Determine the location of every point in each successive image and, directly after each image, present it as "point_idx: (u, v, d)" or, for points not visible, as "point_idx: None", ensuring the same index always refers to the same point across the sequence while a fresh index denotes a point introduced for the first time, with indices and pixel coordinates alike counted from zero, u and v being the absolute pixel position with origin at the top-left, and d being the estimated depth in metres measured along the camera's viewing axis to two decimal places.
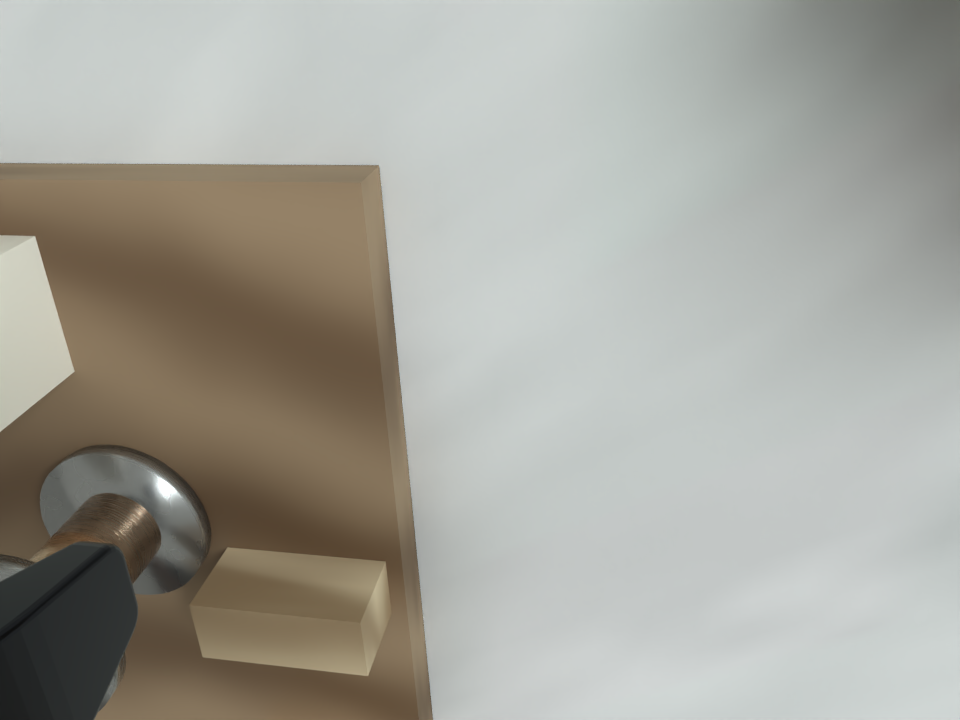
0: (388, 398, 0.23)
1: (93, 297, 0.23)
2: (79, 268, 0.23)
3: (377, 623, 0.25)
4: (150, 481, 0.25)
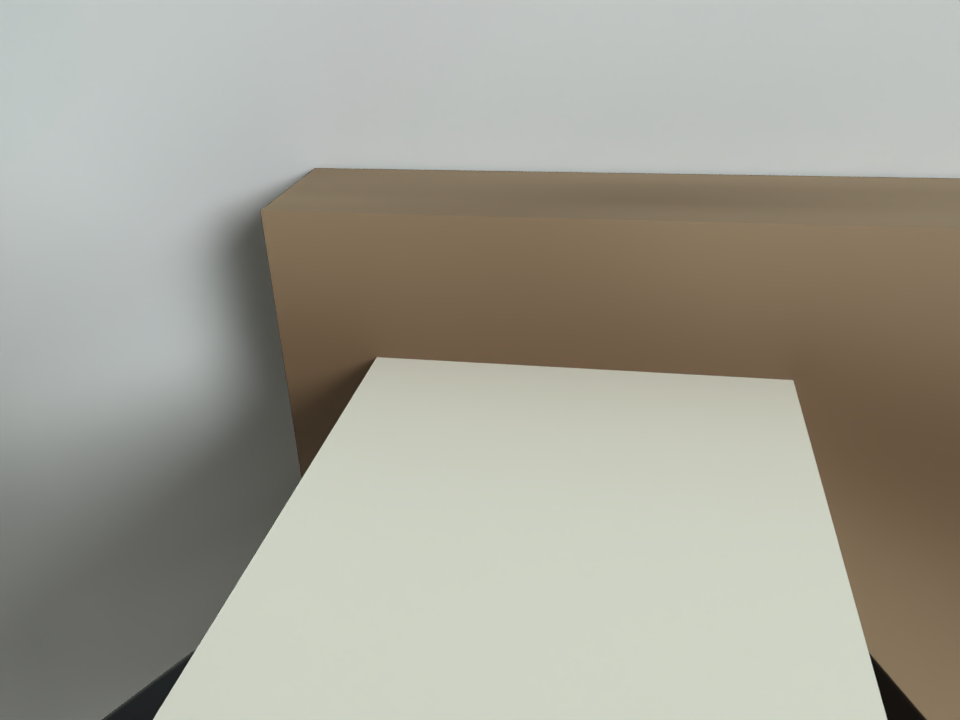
0: None
1: (897, 535, 0.09)
2: (894, 466, 0.08)
3: None
4: None
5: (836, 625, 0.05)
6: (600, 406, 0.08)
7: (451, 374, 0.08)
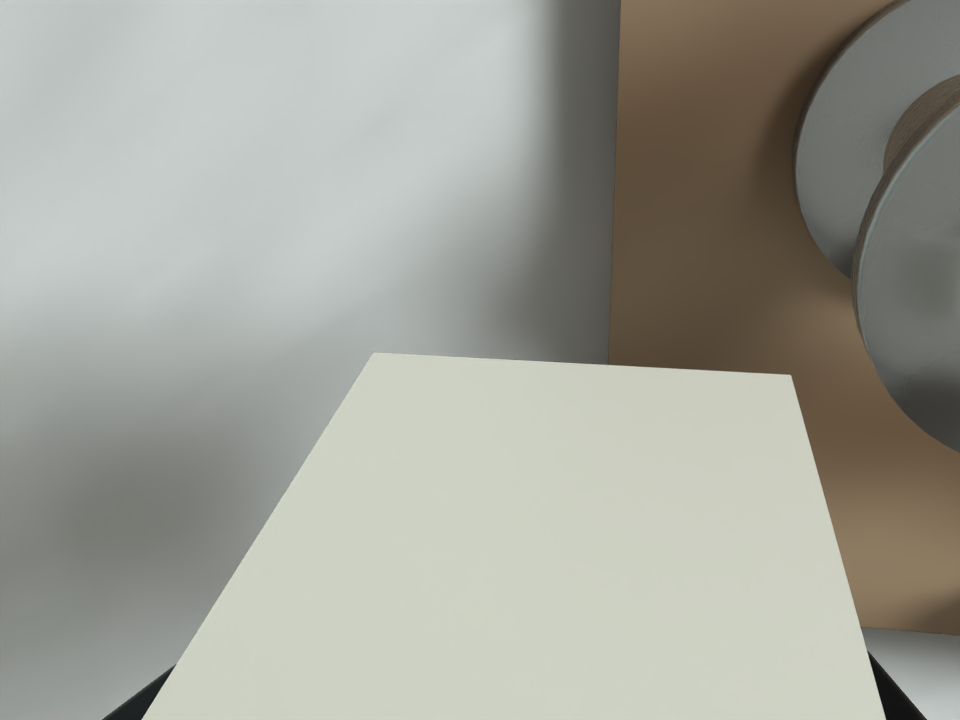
0: None
1: None
2: None
3: None
4: None
5: (832, 618, 0.05)
6: (597, 401, 0.08)
7: (448, 369, 0.08)
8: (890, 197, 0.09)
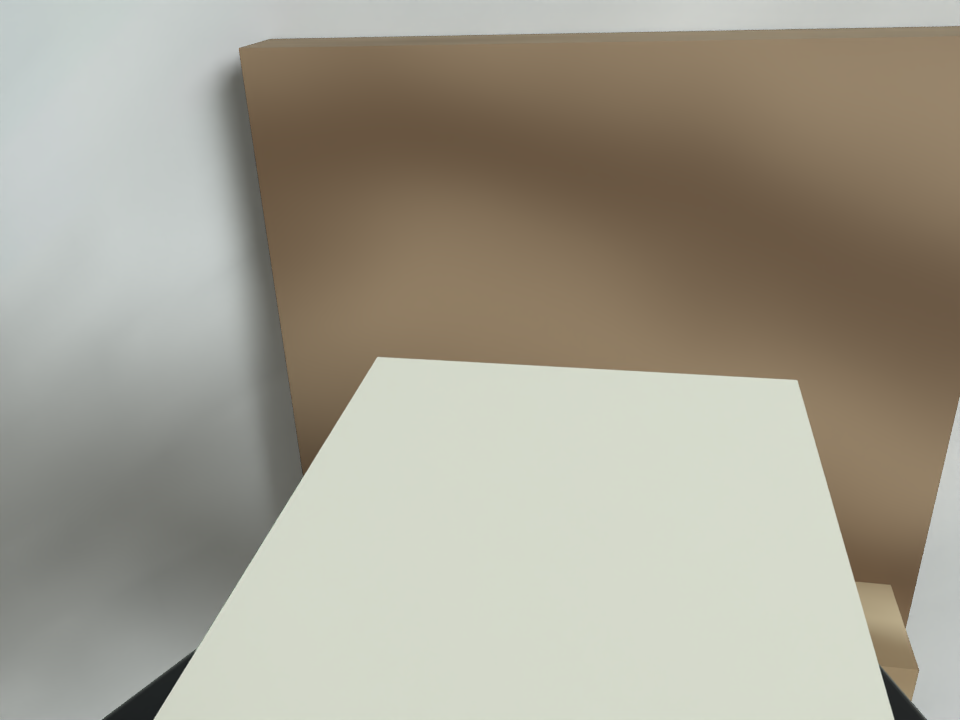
0: None
1: (561, 215, 0.17)
2: (552, 174, 0.17)
3: None
4: None
5: (843, 628, 0.05)
6: (603, 406, 0.08)
7: (452, 373, 0.08)
8: None
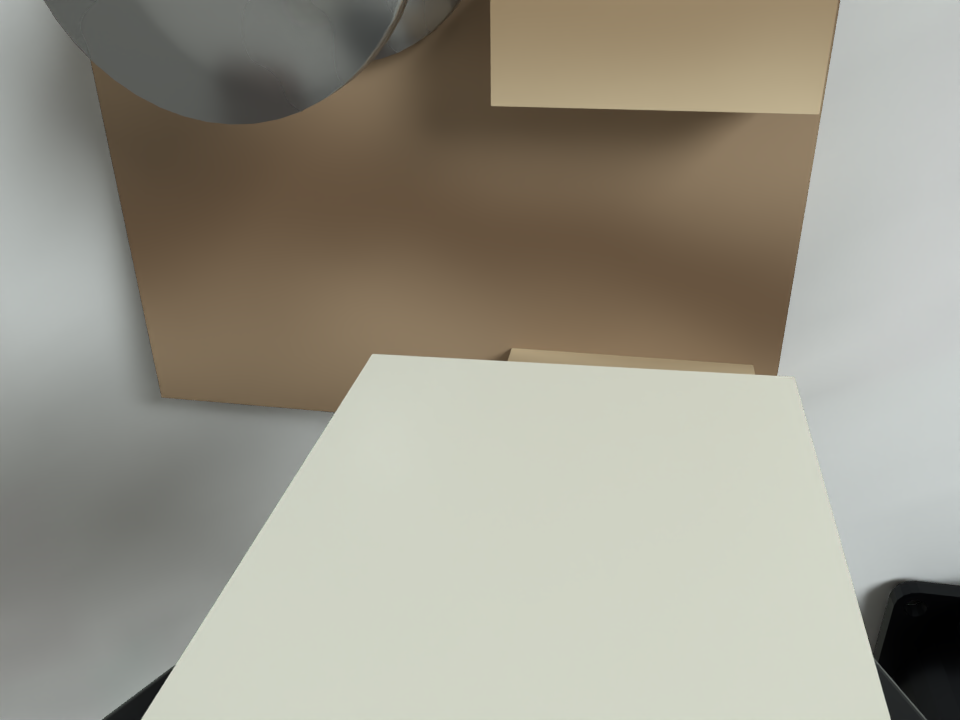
0: None
1: None
2: None
3: None
4: None
5: (839, 625, 0.05)
6: (599, 403, 0.08)
7: (448, 370, 0.08)
8: None
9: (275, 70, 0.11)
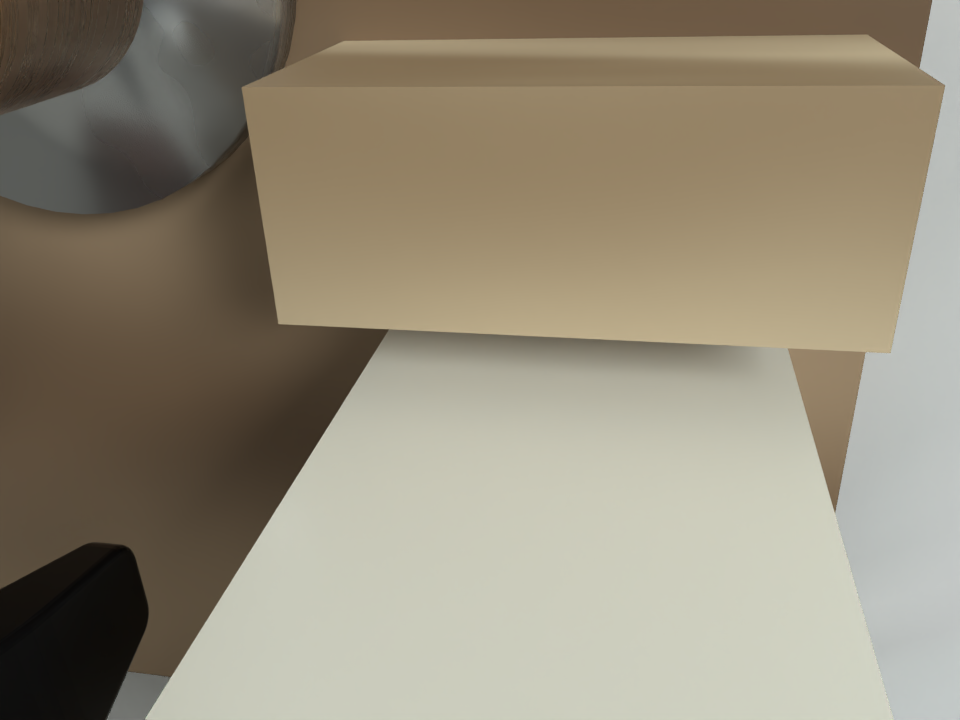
0: None
1: None
2: None
3: None
4: None
5: (803, 475, 0.07)
6: None
7: None
8: None
9: None
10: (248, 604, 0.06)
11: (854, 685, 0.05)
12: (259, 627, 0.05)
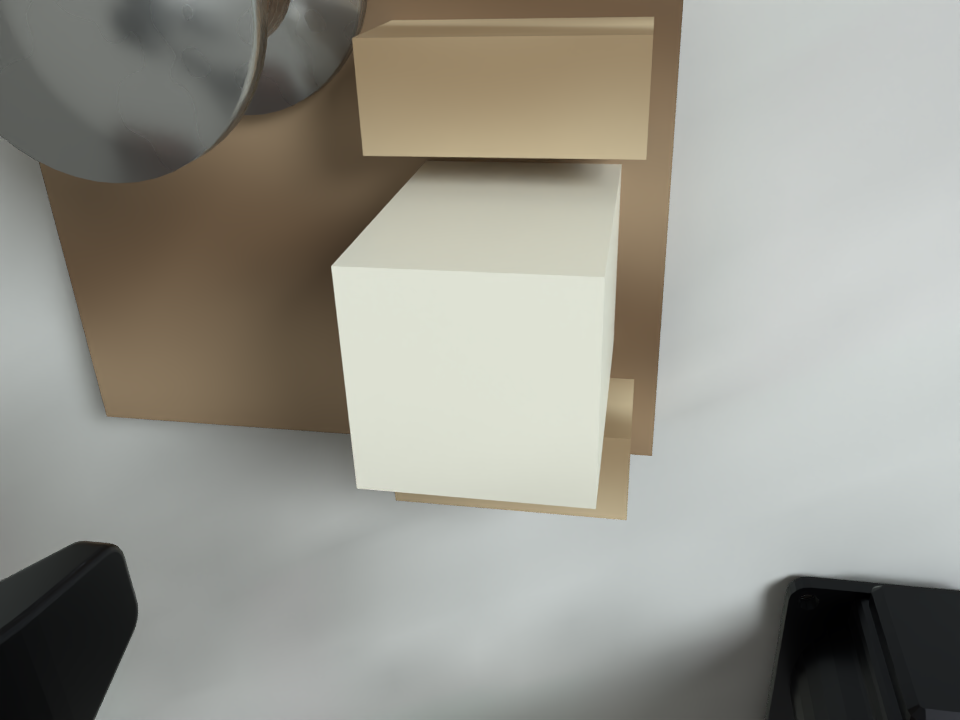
0: None
1: None
2: None
3: None
4: None
5: (605, 213, 0.15)
6: (531, 171, 0.17)
7: (462, 164, 0.18)
8: None
9: (148, 137, 0.13)
10: (363, 244, 0.14)
11: (597, 256, 0.13)
12: (369, 249, 0.13)
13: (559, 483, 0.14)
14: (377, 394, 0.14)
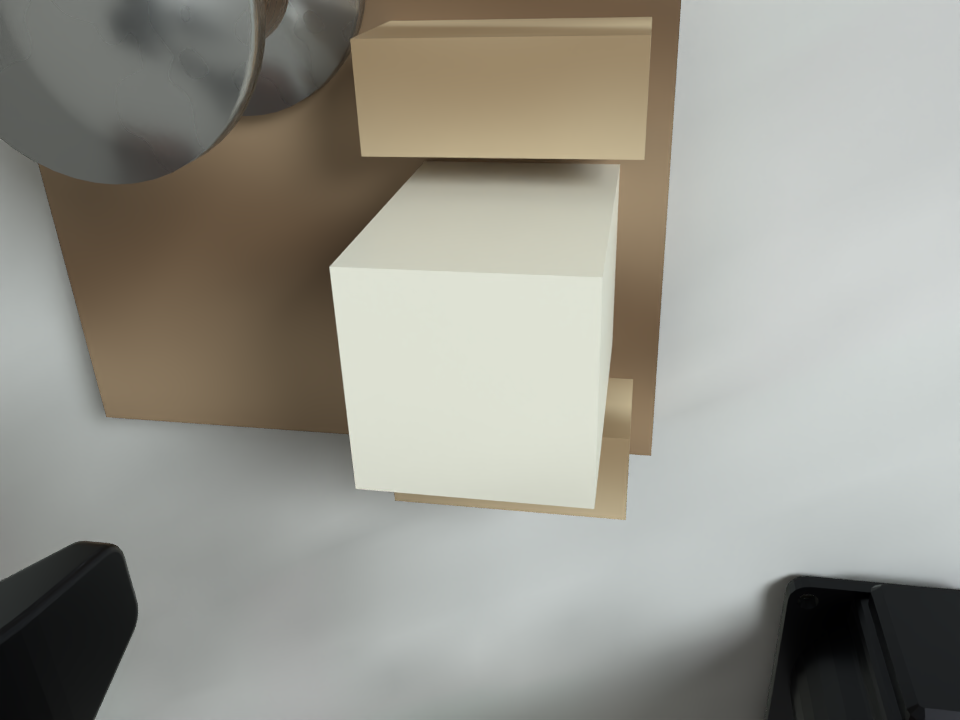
0: None
1: None
2: None
3: None
4: None
5: (603, 213, 0.15)
6: (529, 172, 0.17)
7: (461, 165, 0.18)
8: None
9: (147, 138, 0.13)
10: (361, 245, 0.14)
11: (595, 256, 0.13)
12: (367, 250, 0.13)
13: (557, 482, 0.14)
14: (375, 394, 0.14)
